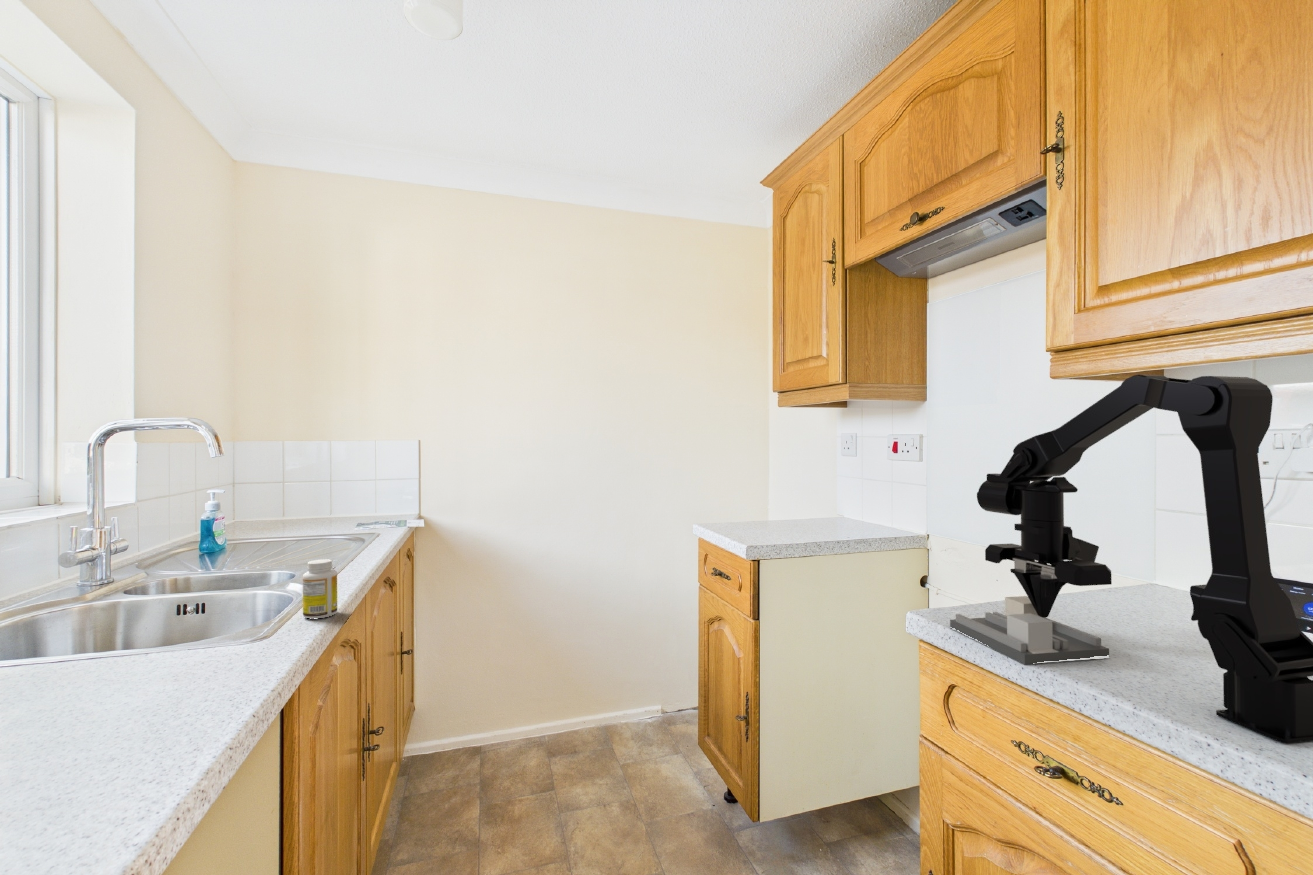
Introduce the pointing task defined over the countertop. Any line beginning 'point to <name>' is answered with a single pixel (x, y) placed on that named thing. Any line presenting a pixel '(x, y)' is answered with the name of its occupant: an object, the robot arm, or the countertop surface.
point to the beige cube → (1019, 606)
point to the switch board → (995, 636)
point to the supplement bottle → (320, 589)
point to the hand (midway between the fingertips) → (1043, 616)
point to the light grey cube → (1030, 631)
